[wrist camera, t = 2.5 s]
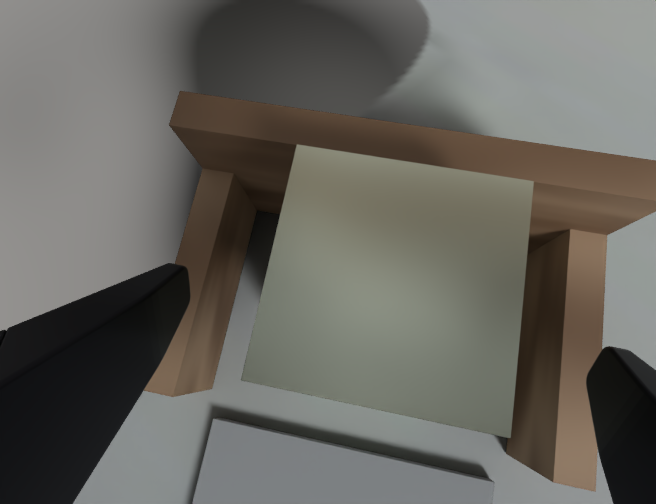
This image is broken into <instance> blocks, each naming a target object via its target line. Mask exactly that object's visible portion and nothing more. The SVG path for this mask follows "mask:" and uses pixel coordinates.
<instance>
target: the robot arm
mask: <svg viewBox="0 0 656 504" xmlns="http://www.w3.org/2000/svg"><path fill="white" fill-rule="evenodd" d="M190 297H191V294H190V283H189V273H188V269H187V268H186V267H185V266H183V265H177V264H172V263H168V264H165V265H163V266H160V267H158V268H155V269H153V270H150V271H148V272H145V273H143V274H140V275H138V276H136V277H133V278H131V279H128V280H126V281H123V282H121V283H118V284H116V285H113V286H111V287H108V288H106V289H104V290H101V291H98V292H96V293H93V294H91V295H89V296H86V297H84V298H81V299H79V300H76V301H74V302H71V303H69V304H66V305H64V306H61V307H59V308H57V309H54V310H51V311H49V312H46V313H44V314H42V315H39V316H37V317H34V318H32V319H29V320H27V321H24V322H22V323H19V324H17V325H14V326H12V327H9V328H8V330H7V331H6V330H2V331H0V504H73V502H74V501H75V499H76V497H77V496H78V494H79V493H80V491H81V489H82V488H83V486H84V485H85V483H86V481H87V480H88V478H89V477H90V475H91V473H92V472H93V470H94V469H95V467H96V466H97V464H98V462H99V461H100V459H101V458H102V456H103V454H104V453H105V451H106V450H107V448H108V446H109V445H110V443H111V442H112V440H113V438H114V437H115V435H116V434H117V432H118V430H119V429H120V427H121V426H122V424H123V422H124V421H125V419H126V418H127V416H128V414H129V413H130V411H131V410H132V408H133V406H134V405H135V403H136V402H137V400H138V398H139V397H140V395H141V394H142V392H143V391H144V389H145V387H146V386H147V384H148V383H149V381H150V379H151V378H152V376H153V375H154V373H155V371H156V370H157V368H158V366H159V365H160V363H161V361H162V359H163V357H164V356H165V354H166V352H167V350H168V347H169V345H170V343H171V341H172V339H173V337H174V335H175V333H176V331H177V329H178V327H179V324H180V322H181V320H182V318H183V316H184V314H185V312H186V310H187V308H188V305H189V303H190ZM586 387H587V393H588V398H589V404H590V409H591V415H592V420H593V426H594V431H595V437H596V442H597V447H598V452H599V456H600V459H601V463H602V467H603V470H604V473H605V477H606V480H607V483H608V487H609V490H610V493H611V497H612V500H613V503H614V504H656V370H654V369H653V368H652V367H651V366H649V365H648V364H647V363H645V362H644V361H643V360H641V359H640V358H639V357H637V356H636V355H635V354H633V353H632V352H631V351H629V350H626V349H621V348H616V347H610V346H609V347H605V348H604V349H602V351H601V352H600V354H599V355H598V357H597V359H596V360H595V362H594V364H593V365H592V367H591V369H590V370H589V372H588V374H587V377H586Z"/></svg>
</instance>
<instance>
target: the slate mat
mask: <svg viewBox="0 0 656 504" xmlns="http://www.w3.org/2000/svg"><path fill="white" fill-rule="evenodd" d="M493 491H494V482H493V481H492V480H491V479H488V478H484V477H480V476H475V475H471V474H466V473H462V472H458V471H453V470H449V469H444V468H440V467H435V466H431V465H427V464H422V463H418V462H413V461H409V460H405V459H400V458H396V457H391V456H387V455H383V454H378V453H374V452H369V451H365V450H360V449H356V448H352V447H347V446H343V445H338V444H334V443H330V442H325V441H321V440H316V439H312V438H308V437H303V436H299V435H294V434H290V433H285V432H281V431H277V430H272V429H268V428H263V427H259V426H255V425H250V424H246V423H241V422H237V421H233V420H228V419H224V418H219V417H216V418H214V419H213V422H212V426H211V430H210V434H209V438H208V442H207V446H206V450H205V454H204V458H203V462H202V466H201V470H200V474H199V478H198V482H197V486H196V490H195V494H194V498H193V502H192V504H492V501H493Z"/></svg>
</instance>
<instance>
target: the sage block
mask: <svg viewBox="0 0 656 504" xmlns="http://www.w3.org/2000/svg"><path fill="white" fill-rule="evenodd" d="M533 185H534V181H529V180H523V179H516V178H510V177H503V176H497V175H490V174H484V173H478V172H471V171H465V170H458V169H452V168H445V167H439V166H433V165H426V164H420V163H413V162H407V161H400V160H394V159H388V158H381V157H375V156H368V155H362V154H355V153H349V152H343V151H336V150H330V149H323V148H317V147H310V146H304V145H298V144H297V146H296V150H295V155H294V159H293V163H292V167H291V171H290V176H289V180H288V184H287V188H286V192H285V197H284V201H283V205H282V209H281V213H280V218H279V222H278V226H277V230H276V234H275V239H274V243H273V247H272V251H271V255H270V260H269V264H268V268H267V272H266V277H265V281H264V285H263V289H262V293H261V298H260V302H259V306H258V310H257V314H256V319H255V323H254V327H253V331H252V335H251V340H250V344H249V348H248V352H247V356H246V361H245V365H244V369H243V373H242V377H241V380H242V381H247V382H251V383H256V384H260V385H265V386H270V387H274V388H279V389H284V390H288V391H293V392H298V393H302V394H307V395H311V396H316V397H321V398H325V399H330V400H335V401H339V402H344V403H349V404H353V405H358V406H362V407H367V408H372V409H376V410H381V411H386V412H390V413H395V414H400V415H404V416H409V417H414V418H418V419H423V420H427V421H432V422H437V423H441V424H446V425H451V426H455V427H460V428H465V429H469V430H474V431H478V432H483V433H488V434H492V435H497V436H502V437H506V438H511V429H512V418H513V407H514V396H515V385H516V374H517V363H518V352H519V341H520V329H521V318H522V307H523V296H524V285H525V274H526V263H527V252H528V241H529V230H530V218H531V207H532V196H533Z"/></svg>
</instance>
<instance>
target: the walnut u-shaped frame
mask: <svg viewBox="0 0 656 504" xmlns="http://www.w3.org/2000/svg"><path fill="white" fill-rule="evenodd" d="M169 126H170V127H171V128H172V130H173V131H174V132H175V133H176V135H177V136H178V137H179V138H180V140H181V141H182V142H183V144H184V145H185V146H186V148H187V149H188V150H189V151H190V153H191V154H192V155H193V156H194V158H195V159H196V160H197V162H198V163H199V164H200V165H201V167H202V168H203V169H202V173H201V176H200V180H199V183H198V186H197V190H196V193H195V196H194V200H193V204H192V207H191V210H190V213H189V217H188V220H187V224H186V227H185V231H184V234H183V238H182V241H181V245H180V248H179V251H178V255H177V258H176V261H175V264H177V265H183V266H185V267H186V268H187V269H188V273H189V283H190V294H191V297H190V303H189V305H188V308H187V310H186V312H185V314H184V316H183V318H182V320H181V322H180V324H179V327H178V329H177V331H176V333H175V335H174V337H173V339H172V341H171V343H170V345H169V347H168V350H167V352H166V354H165V356H164V357H163V359H162V361H161V363H160V365H159V366H158V368H157V370H156V371H155V373H154V375H153V376H152V378H151V379H150V381H149V383H148V384H147V386H146V387H145V389H144V391H148V392H153V393H157V394H162V395H166V396H171V397H175V396H180V395H185V394H190V393H194V392H199V391H204V390H209V389H212V387H213V383H214V379H215V375H216V371H217V367H218V363H219V359H220V355H221V351H222V347H223V343H224V339H225V335H226V331H227V327H228V323H229V319H230V315H231V312H232V308H233V304H234V300H235V296H236V292H237V288H238V284H239V280H240V276H241V272H242V268H243V264H244V260H245V256H246V252H247V248H248V244H249V240H250V236H251V232H252V228H253V224H254V220H255V216H256V212H257V211H263V212H269V213H275V214H280V213H281V209H282V205H283V201H284V197H285V192H286V188H287V184H288V180H289V176H290V171H291V167H292V163H293V159H294V155H295V150H296V146H297V144H298V145H304V146H310V147H317V148H323V149H330V150H336V151H343V152H349V153H355V154H362V155H368V156H375V157H381V158H388V159H394V160H400V161H407V162H413V163H420V164H426V165H433V166H439V167H445V168H452V169H458V170H465V171H471V172H478V173H484V174H490V175H497V176H503V177H510V178H516V179H523V180H529V181H534V185H533V196H532V207H531V218H530V230H529V241H528V252H527V263H526V274H525V285H524V296H523V307H522V318H521V329H520V341H519V352H518V363H517V374H516V385H515V396H514V407H513V418H512V429H511V438H507V448H506V454H508V455H509V456H511V457H512V458H514V459H516V460H517V461H519V462H521V463H522V464H524V465H526V466H527V467H529V468H531V469H532V470H534V471H536V472H537V473H539V474H541V475H542V476H544V477H545V478H547V479H549V480H550V481H552V482H554V483H559V484H563V485H568V486H572V487H577V488H581V489H586V490H590V491H596V469H597V442H596V437H595V431H594V426H593V420H592V415H591V409H590V404H589V398H588V393H587V387H586V377H587V374H588V372H589V370H590V369H591V367H592V365H593V364H594V362H595V360H596V359H597V357H598V355H599V354H600V352H601V351H602V337H603V315H604V293H605V271H606V249H607V235H608V234H610V233H612V232H614V231H617V230H619V229H621V228H623V227H625V226H627V225H629V224H631V223H633V222H635V221H637V220H639V219H641V218H643V217H645V216H647V215H649V214H651V213H653V212H655V211H656V161H655V160H648V159H641V158H634V157H627V156H621V155H614V154H607V153H600V152H593V151H586V150H580V149H573V148H566V147H559V146H552V145H546V144H539V143H532V142H525V141H518V140H511V139H505V138H498V137H491V136H484V135H477V134H471V133H464V132H457V131H450V130H443V129H436V128H430V127H423V126H416V125H409V124H402V123H396V122H389V121H382V120H375V119H368V118H361V117H355V116H348V115H341V114H334V113H327V112H320V111H314V110H307V109H299V108H293V107H286V106H280V105H273V104H266V103H259V102H252V101H245V100H239V99H232V98H225V97H218V96H211V95H205V94H198V93H191V92H183V91H180V92H179V95H178V99H177V102H176V105H175V108H174V111H173V114H172V117H171V120H170V123H169Z"/></svg>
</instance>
